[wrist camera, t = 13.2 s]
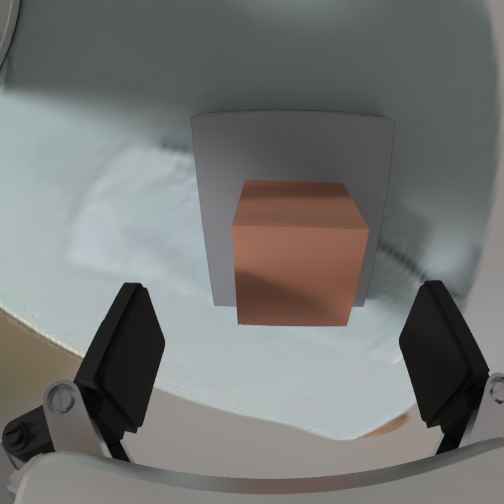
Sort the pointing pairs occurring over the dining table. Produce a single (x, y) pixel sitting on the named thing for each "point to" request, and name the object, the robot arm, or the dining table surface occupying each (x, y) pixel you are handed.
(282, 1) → the dining table surface
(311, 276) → the brown cube
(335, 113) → the slate board
